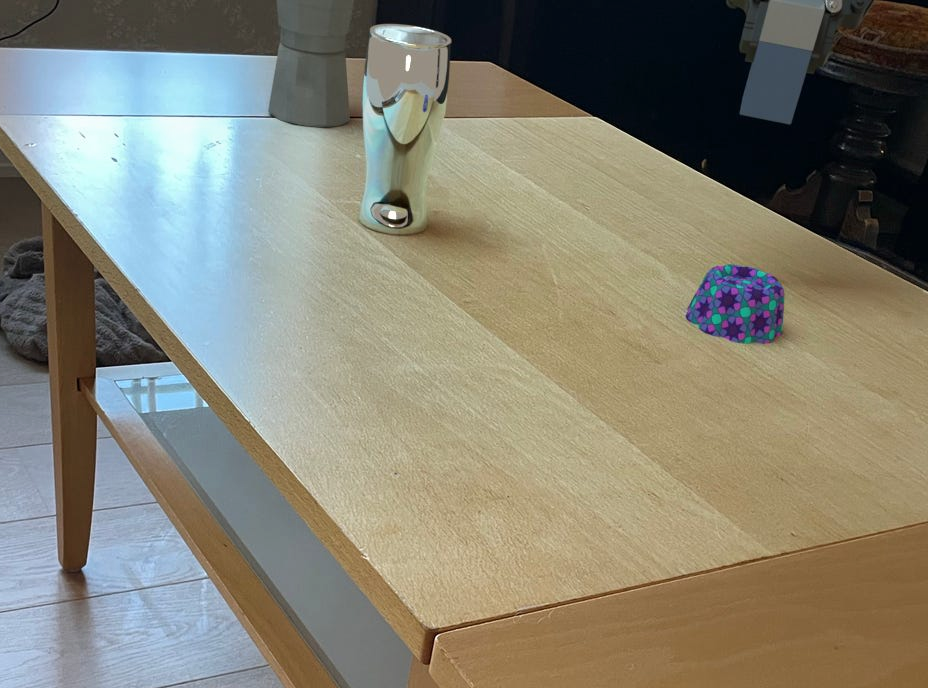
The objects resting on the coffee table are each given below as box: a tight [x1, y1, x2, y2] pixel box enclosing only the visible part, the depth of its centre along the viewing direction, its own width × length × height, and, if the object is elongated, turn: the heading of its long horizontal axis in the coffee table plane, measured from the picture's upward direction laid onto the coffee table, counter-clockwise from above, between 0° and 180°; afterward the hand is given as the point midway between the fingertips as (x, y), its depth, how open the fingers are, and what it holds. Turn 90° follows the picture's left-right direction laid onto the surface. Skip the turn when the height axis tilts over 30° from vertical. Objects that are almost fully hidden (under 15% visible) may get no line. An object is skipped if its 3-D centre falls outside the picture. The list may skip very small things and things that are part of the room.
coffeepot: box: [267, 0, 355, 128], centre depth 119 cm, size 15×9×18 cm, turn 27°
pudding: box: [685, 263, 786, 345], centre depth 88 cm, size 12×12×5 cm
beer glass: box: [357, 23, 452, 236], centre depth 97 cm, size 7×7×15 cm
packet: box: [739, 0, 825, 125], centre depth 89 cm, size 4×6×8 cm, turn 166°
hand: (781, 60), depth 88 cm, fingers closed on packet, 4 cm apart
